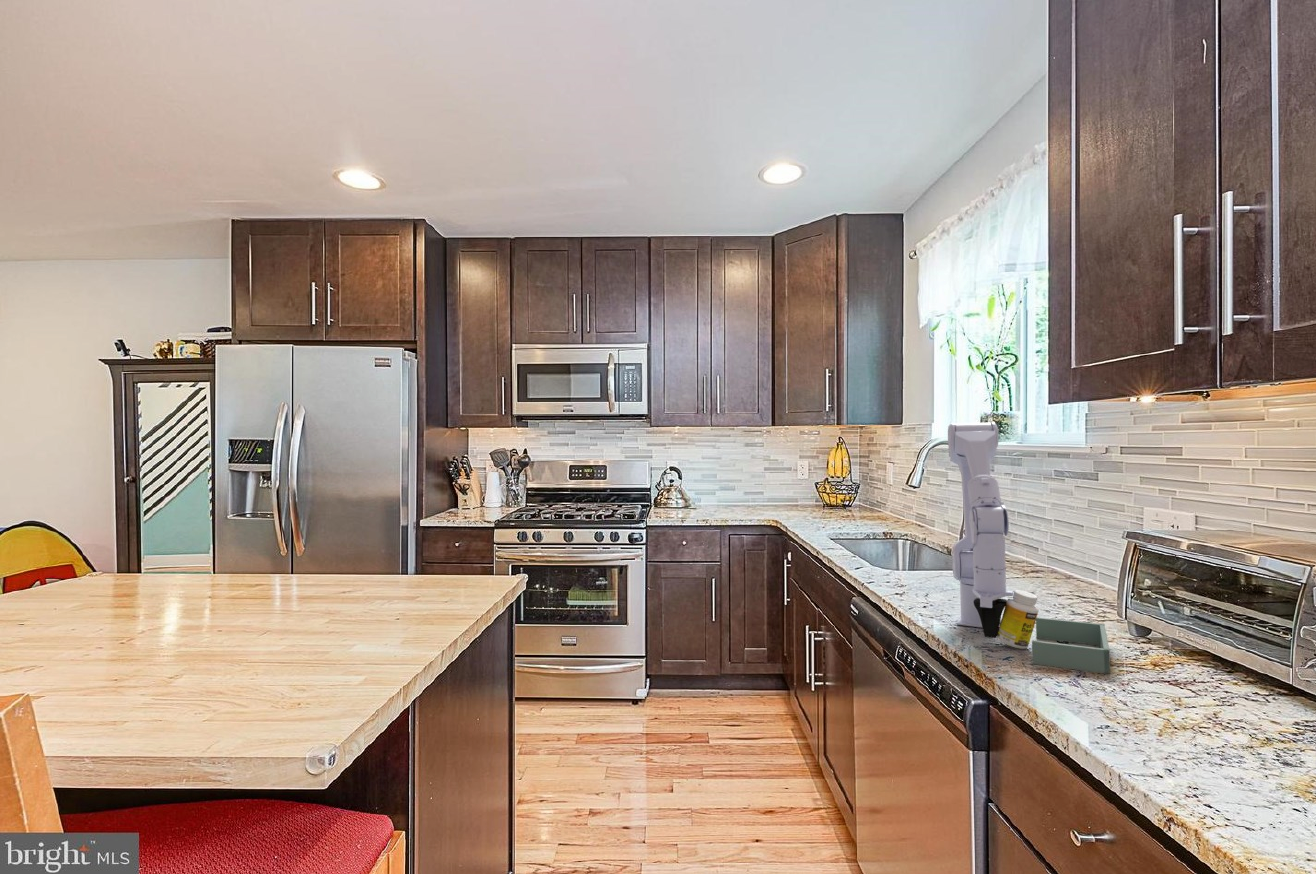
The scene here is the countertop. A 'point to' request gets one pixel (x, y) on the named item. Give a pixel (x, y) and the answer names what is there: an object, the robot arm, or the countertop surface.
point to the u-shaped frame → (1071, 654)
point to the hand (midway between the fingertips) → (990, 636)
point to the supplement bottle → (1018, 620)
